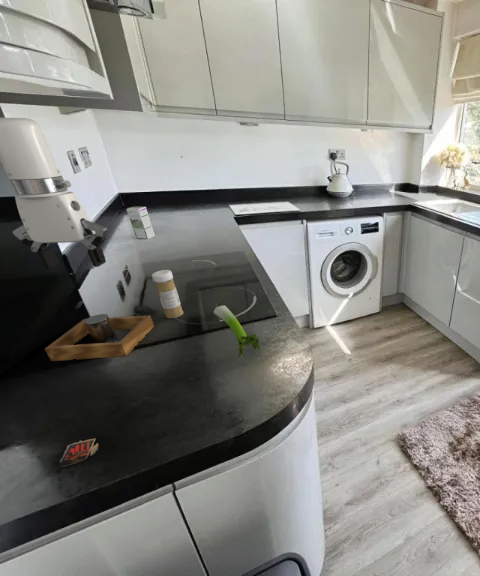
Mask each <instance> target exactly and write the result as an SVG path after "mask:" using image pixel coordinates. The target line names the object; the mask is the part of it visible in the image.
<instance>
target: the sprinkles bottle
mask: <svg viewBox="0 0 480 576" xmlns="http://www.w3.org/2000/svg"><path fill="white" fill-rule="evenodd" d="M151 278H152V281H153V282H154V285H155V288H156V290H157V294H158V296H159V300H160V303H161V306H162V307H161V308H162V309H163V312H164V314H165V315H164V316H165V318H167V319H169V320H170V319H177V318H179V317H181V316H183V315H184V310H183V308H182V305H181V300H180V296H179V293H178V290H177V287H176V284H175V282H174V275H173V272H172V271H171V270H170V269H162V270H157V271H154V272H152V274H151Z"/></svg>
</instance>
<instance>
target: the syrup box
mask: <svg viewBox="0 0 480 576" xmlns="http://www.w3.org/2000/svg"><path fill="white" fill-rule="evenodd" d="M126 213H127V215H128V218H129V221H130V225H131V227H132V230H133V232H134V233H133V234H134V236H135V238H136V239H137V240H138V239H139V240H149V239H151V238H154V237H155V236H156V234H155V232H154V229H153V225H152V223H151V219H150V215H149V213H148V210H147V206H131V207H127V208H126Z"/></svg>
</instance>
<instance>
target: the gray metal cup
mask: <svg viewBox="0 0 480 576" xmlns="http://www.w3.org/2000/svg"><path fill="white" fill-rule="evenodd" d="M109 318H110V317H109V315H108V314H107V313H99V314H95V315H92V316H89V317H87V318H85V319H86V320H85V324H86V326H87V328H88V330H89V332H90V333H89V334H90V337H91V339H92V341H93V344H96V343H112V342H115V341H117V342H118V340H119V338H118V336H117V333H116V330H114V329H113V326H112V324H111V322H110V319H109ZM117 339H118V340H117Z"/></svg>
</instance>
